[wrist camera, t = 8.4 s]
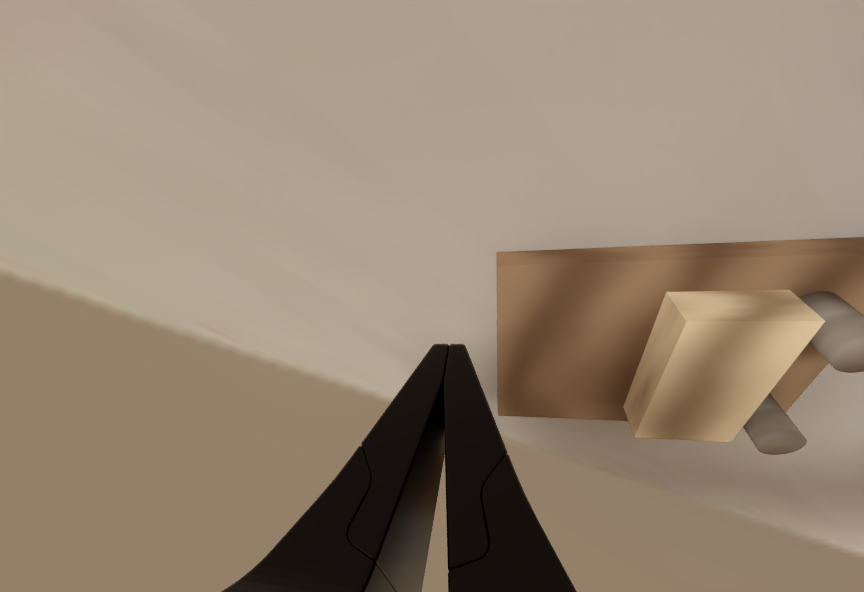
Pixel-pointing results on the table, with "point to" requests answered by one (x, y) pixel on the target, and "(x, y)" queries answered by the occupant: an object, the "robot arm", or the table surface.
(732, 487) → the table surface
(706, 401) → the maple plate
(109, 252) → the table surface
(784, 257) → the board
